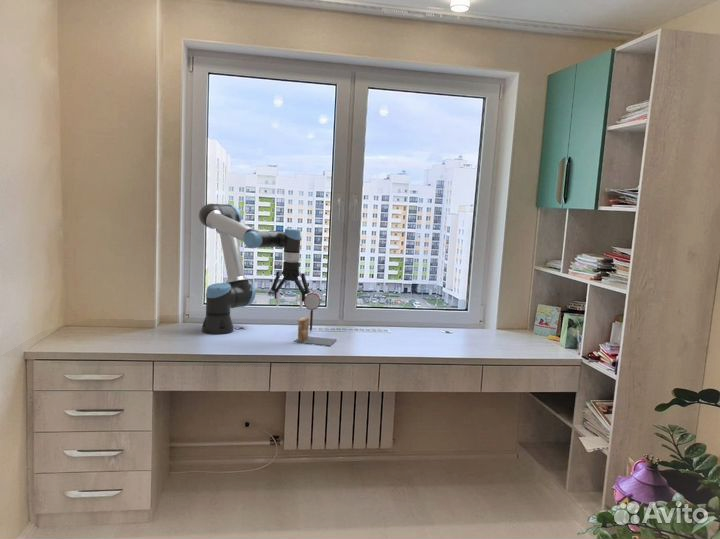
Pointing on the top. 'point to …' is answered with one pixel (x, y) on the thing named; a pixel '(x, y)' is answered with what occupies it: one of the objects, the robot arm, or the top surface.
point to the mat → (317, 341)
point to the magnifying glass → (312, 304)
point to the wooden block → (303, 329)
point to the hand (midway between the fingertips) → (289, 306)
